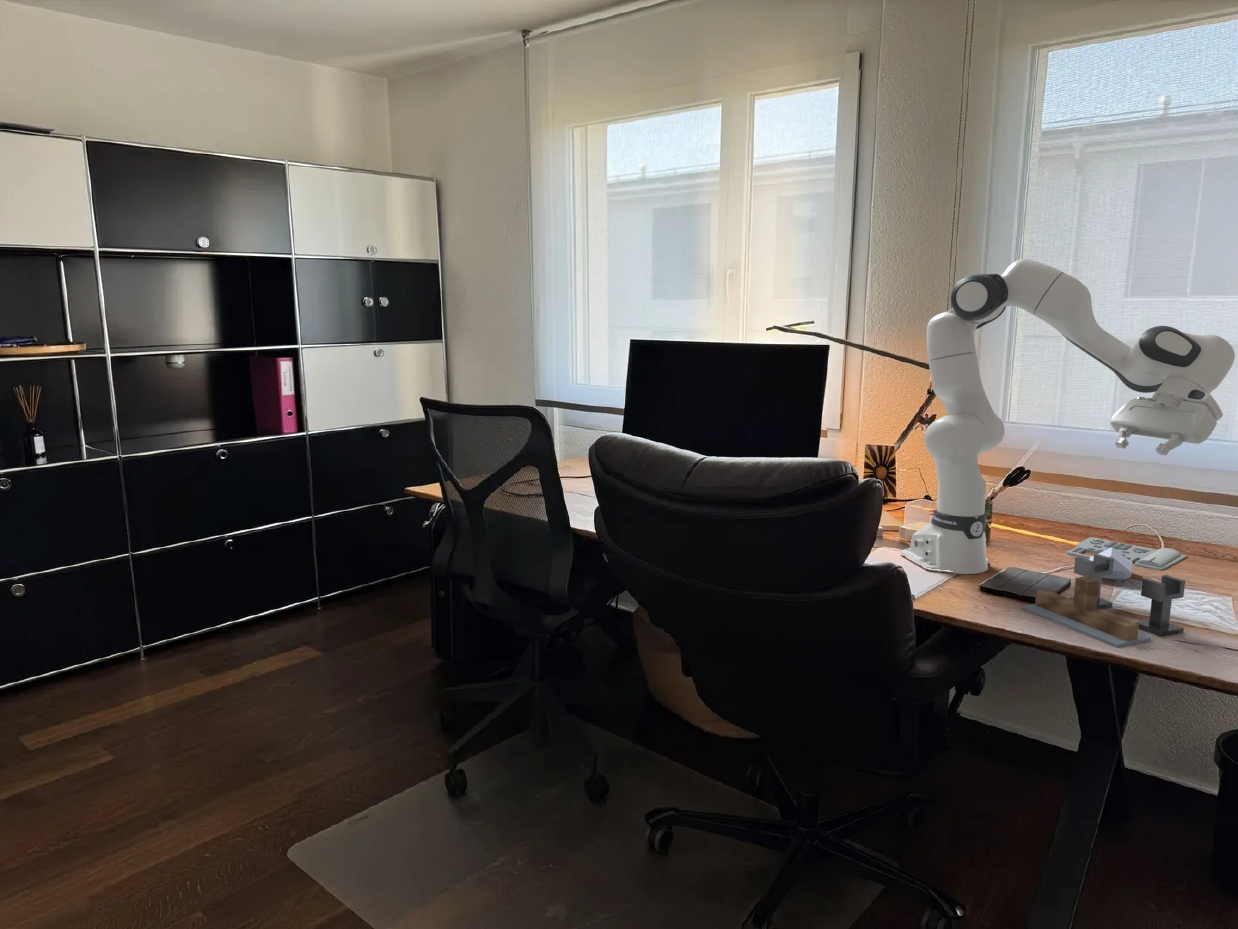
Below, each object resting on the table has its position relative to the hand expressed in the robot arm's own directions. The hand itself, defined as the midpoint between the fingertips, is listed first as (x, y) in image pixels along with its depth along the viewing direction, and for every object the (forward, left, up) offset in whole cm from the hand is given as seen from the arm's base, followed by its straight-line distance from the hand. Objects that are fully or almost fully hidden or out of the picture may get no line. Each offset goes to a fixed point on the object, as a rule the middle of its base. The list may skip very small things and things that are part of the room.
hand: (1139, 449), depth 178 cm
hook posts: (+5, -6, -34) cm, 35 cm away
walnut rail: (+5, -17, -34) cm, 38 cm away
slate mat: (+5, -17, -34) cm, 39 cm away
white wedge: (-16, +15, -35) cm, 41 cm away
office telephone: (-27, +33, -35) cm, 55 cm away
